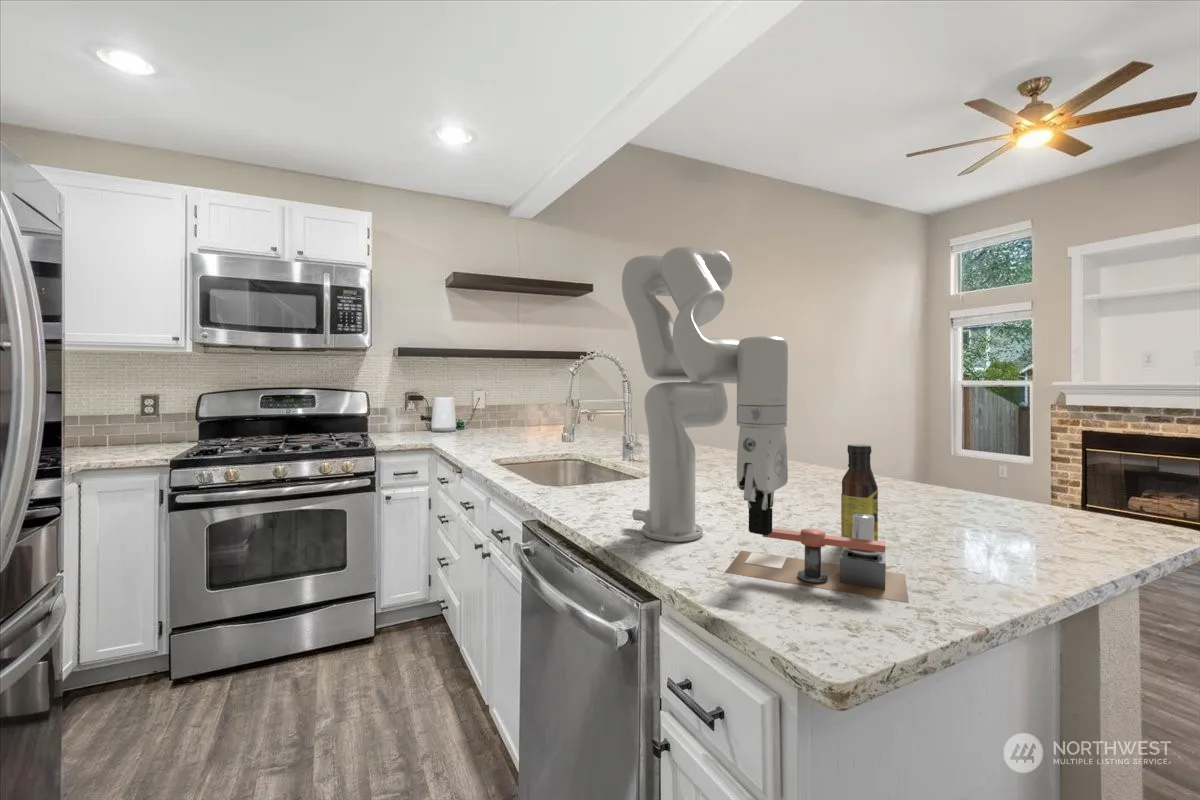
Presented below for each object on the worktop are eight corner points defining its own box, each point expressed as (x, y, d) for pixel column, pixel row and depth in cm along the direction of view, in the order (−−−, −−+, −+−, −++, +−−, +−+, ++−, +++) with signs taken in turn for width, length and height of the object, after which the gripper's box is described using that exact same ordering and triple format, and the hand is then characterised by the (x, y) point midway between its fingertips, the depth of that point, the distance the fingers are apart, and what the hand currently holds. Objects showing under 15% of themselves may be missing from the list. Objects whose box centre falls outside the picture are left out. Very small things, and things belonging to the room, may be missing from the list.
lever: (755, 539, 86) (755, 503, 86) (759, 533, 89) (759, 498, 89) (885, 556, 77) (885, 516, 77) (884, 549, 81) (885, 511, 80)
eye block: (839, 582, 82) (839, 557, 82) (841, 569, 87) (842, 545, 87) (885, 590, 79) (885, 563, 79) (884, 576, 85) (885, 551, 84)
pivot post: (795, 580, 83) (796, 547, 83) (799, 571, 87) (799, 540, 87) (826, 585, 81) (826, 552, 81) (828, 576, 85) (829, 543, 85)
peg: (841, 582, 82) (842, 518, 82) (843, 570, 87) (844, 510, 87) (882, 589, 79) (884, 522, 79) (882, 576, 84) (883, 514, 84)
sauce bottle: (882, 556, 97) (884, 447, 96) (845, 554, 98) (847, 447, 97) (871, 545, 103) (873, 443, 102) (837, 543, 104) (838, 442, 104)
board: (724, 578, 87) (724, 571, 87) (741, 555, 97) (741, 549, 97) (908, 609, 75) (908, 601, 75) (904, 580, 85) (904, 573, 85)
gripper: (767, 421, 75) (766, 550, 76) (801, 414, 86) (799, 526, 87) (718, 418, 79) (717, 540, 80) (756, 412, 91) (755, 518, 92)
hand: (760, 532), depth 84 cm, fingers closed
